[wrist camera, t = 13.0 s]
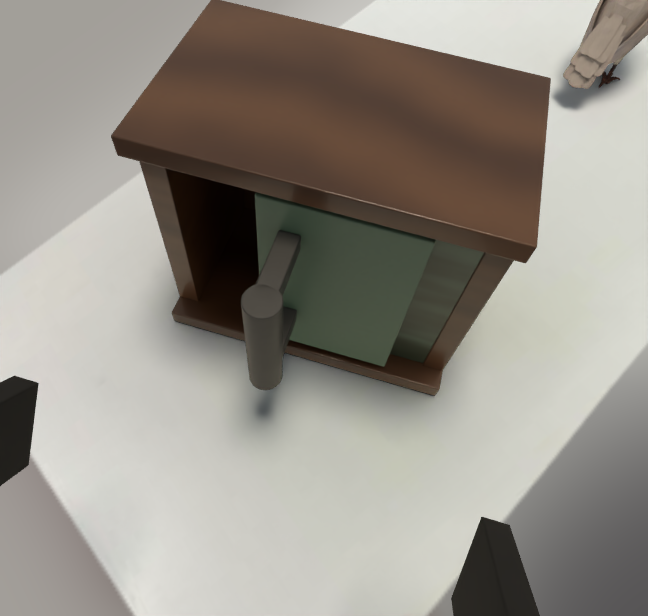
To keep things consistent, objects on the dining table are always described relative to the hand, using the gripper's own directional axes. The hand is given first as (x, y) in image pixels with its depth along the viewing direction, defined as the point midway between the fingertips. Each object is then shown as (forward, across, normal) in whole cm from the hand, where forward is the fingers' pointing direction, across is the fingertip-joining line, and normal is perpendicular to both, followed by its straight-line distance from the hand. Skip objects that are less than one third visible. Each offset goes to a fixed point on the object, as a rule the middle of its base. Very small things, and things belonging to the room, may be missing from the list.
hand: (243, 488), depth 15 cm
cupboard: (+20, -1, +2) cm, 20 cm away
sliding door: (+14, 0, -2) cm, 14 cm away
